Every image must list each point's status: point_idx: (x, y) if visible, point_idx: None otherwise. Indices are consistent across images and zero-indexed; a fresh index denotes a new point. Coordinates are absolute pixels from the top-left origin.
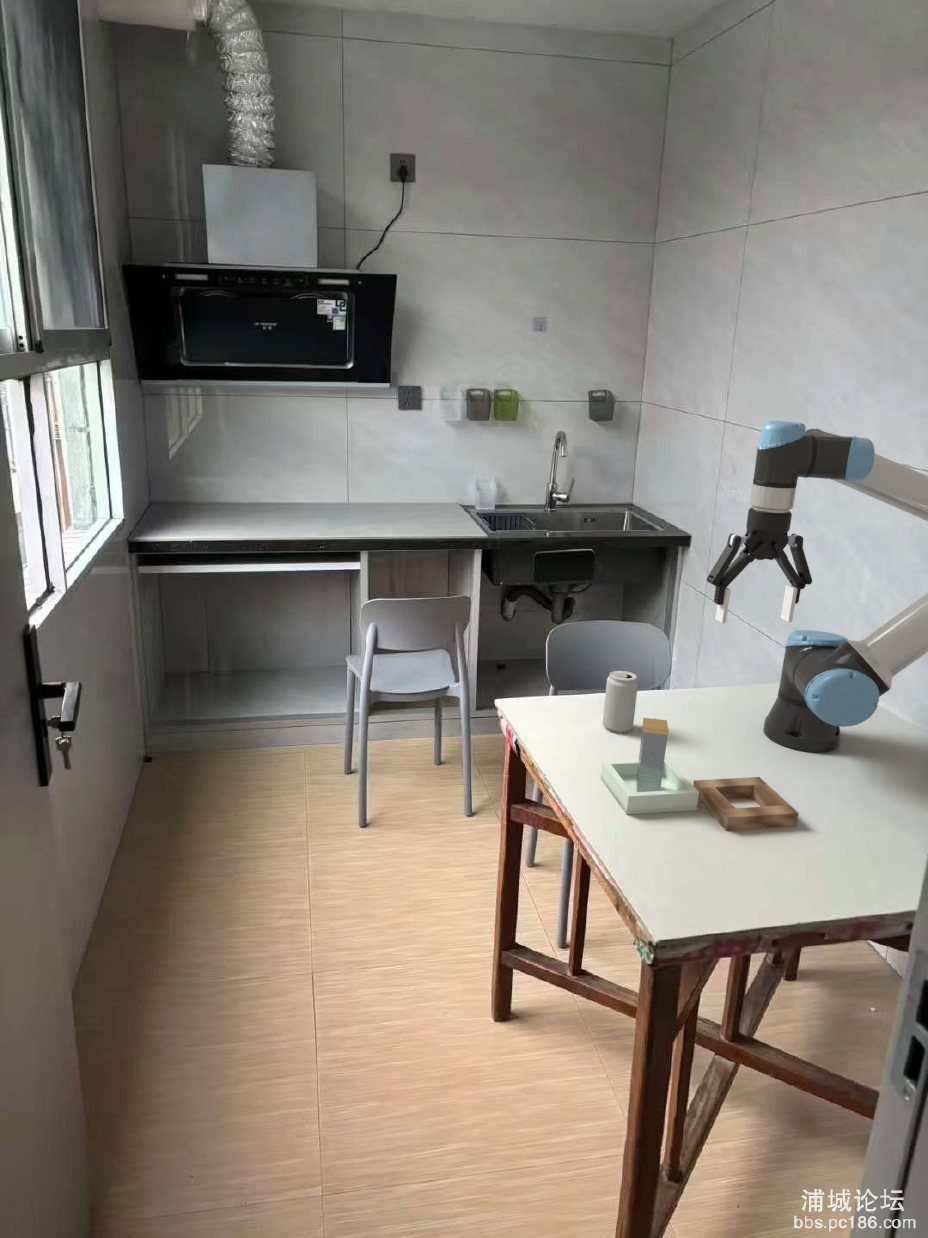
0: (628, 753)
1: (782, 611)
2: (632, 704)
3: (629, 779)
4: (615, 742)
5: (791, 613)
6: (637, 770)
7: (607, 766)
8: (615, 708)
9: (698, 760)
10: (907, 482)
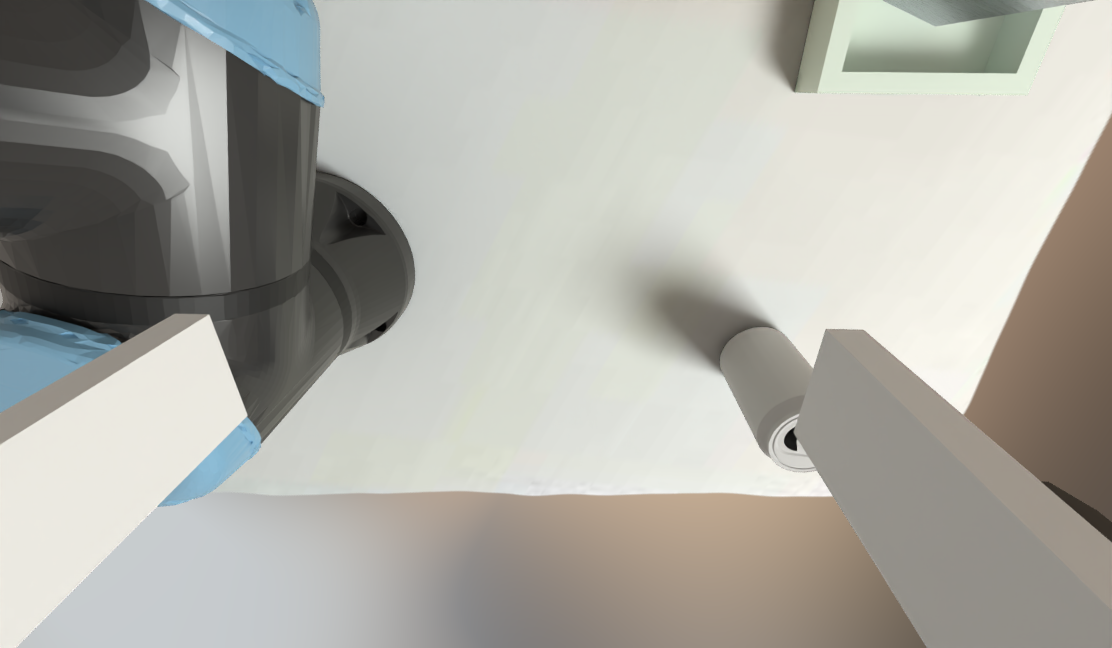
0: (810, 227)
1: (203, 444)
2: (768, 365)
3: (935, 54)
4: (804, 286)
5: (123, 354)
6: (966, 19)
7: (1039, 58)
8: (808, 364)
9: (654, 168)
10: None
